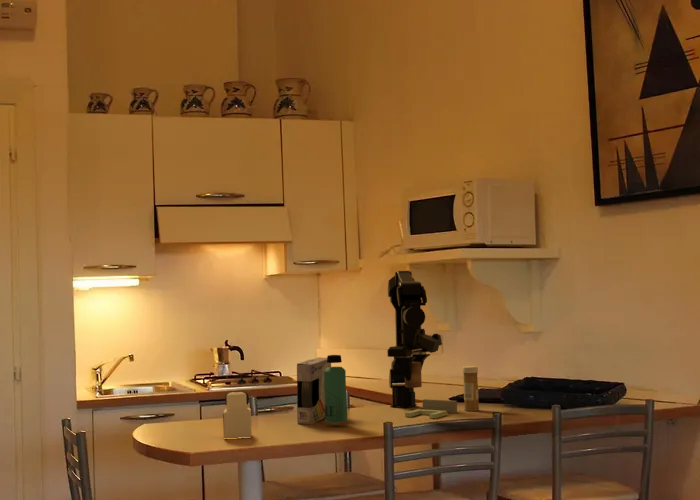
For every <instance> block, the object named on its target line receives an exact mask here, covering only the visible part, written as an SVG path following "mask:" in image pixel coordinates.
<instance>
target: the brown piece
mask: <svg viewBox="0 0 700 500" xmlns="http://www.w3.org/2000/svg"><path fill="white" fill-rule="evenodd" d="M422 382H423V380H422V370H421V362H412V370H411V380H410V381H407V380H406V378H405V383H404V384H405V387H407V388H414V389H415V388H421V387H422V386H423V385H422Z"/></svg>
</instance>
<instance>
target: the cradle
mask: <svg viewBox="0 0 700 500" xmlns="http://www.w3.org/2000/svg"><path fill="white" fill-rule="evenodd" d="M419 415H426V416H428V418H429V419H433V418H435V419H438V418H441V417H444V416H448V413H447V411H440V410H423V408H422V409H420V408H417V409H414V410H411V411H410V410H409V411H405V412H404V417H405V418H413V417H415V416H419Z"/></svg>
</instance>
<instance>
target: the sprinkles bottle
mask: <svg viewBox="0 0 700 500" xmlns="http://www.w3.org/2000/svg"><path fill="white" fill-rule="evenodd" d="M478 369H479V368H478V366H477V365H465V366H463V367H462V374H463V400H464V411H467V412H477V411H479V410H480V407H479V404H480V403H479V383H478V374H479V370H478Z"/></svg>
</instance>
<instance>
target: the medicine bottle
mask: <svg viewBox="0 0 700 500" xmlns="http://www.w3.org/2000/svg"><path fill="white" fill-rule="evenodd" d="M224 397H225V399H224V400H225V409H224V410H223V414H222V417H223V439H224V438H238V437H251V438H252V433H253V432H252V408H250V407H249V393H248V392H246V391H243V390H242V391H241V390H239V391H229V392H227V393H226V394H225V395H224Z"/></svg>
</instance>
